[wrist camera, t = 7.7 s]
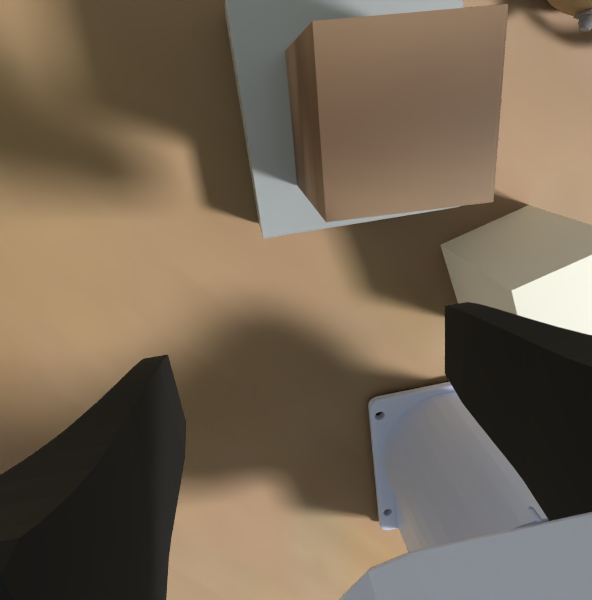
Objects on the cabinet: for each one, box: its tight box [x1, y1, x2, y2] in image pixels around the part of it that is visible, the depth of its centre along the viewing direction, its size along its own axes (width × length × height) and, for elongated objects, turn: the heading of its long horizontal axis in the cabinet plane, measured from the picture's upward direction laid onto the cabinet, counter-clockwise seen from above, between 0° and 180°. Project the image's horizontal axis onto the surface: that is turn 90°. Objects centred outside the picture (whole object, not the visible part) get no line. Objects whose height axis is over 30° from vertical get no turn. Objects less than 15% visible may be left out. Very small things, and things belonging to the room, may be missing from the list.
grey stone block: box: [225, 0, 463, 239], centre depth 18 cm, size 8×8×3 cm
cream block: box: [441, 205, 592, 335], centre depth 20 cm, size 4×4×6 cm
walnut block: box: [285, 4, 508, 222], centre depth 14 cm, size 4×4×6 cm
